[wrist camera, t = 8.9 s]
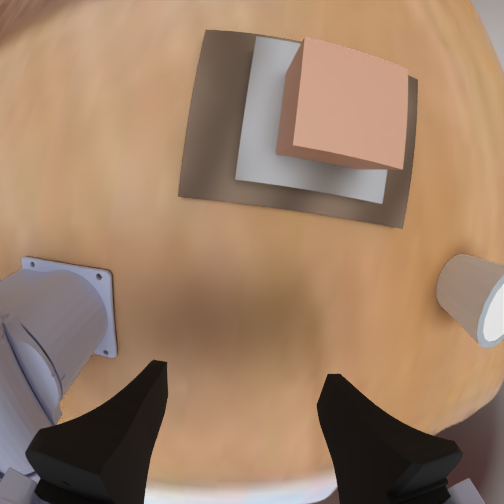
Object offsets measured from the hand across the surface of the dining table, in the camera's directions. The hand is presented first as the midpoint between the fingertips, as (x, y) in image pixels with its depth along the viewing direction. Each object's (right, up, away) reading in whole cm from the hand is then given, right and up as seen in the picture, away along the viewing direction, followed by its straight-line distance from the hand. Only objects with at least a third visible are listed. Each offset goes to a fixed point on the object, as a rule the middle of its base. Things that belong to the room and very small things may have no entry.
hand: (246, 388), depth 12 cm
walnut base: (+4, +15, +7) cm, 17 cm away
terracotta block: (+4, +13, +3) cm, 14 cm away
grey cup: (+20, +3, +11) cm, 23 cm away
